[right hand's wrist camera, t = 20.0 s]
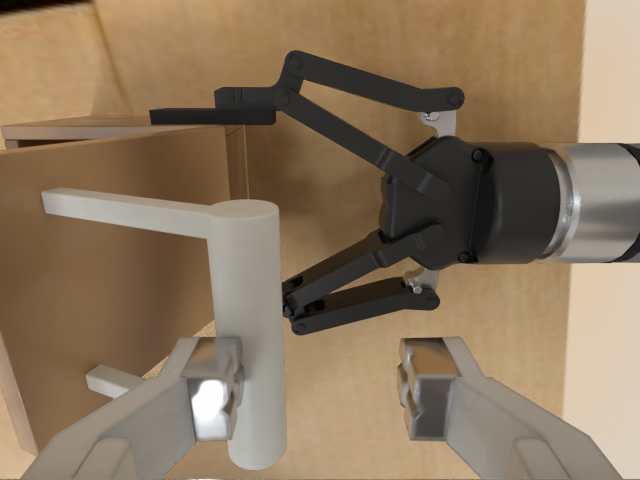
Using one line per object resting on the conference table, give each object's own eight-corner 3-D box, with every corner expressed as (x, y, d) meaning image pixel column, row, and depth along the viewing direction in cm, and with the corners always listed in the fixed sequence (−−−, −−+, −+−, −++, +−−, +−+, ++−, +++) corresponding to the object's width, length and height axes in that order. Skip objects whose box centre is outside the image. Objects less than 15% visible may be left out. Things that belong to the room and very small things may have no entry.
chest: (113, 242, 33) (44, 297, 24) (89, 115, 29) (-1, 125, 21) (251, 241, 33) (232, 294, 24) (244, 115, 30) (219, 125, 21)
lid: (19, 449, 14) (242, 558, 11) (-77, 158, 10) (207, 188, 7) (224, 297, 24) (368, 329, 21) (208, 126, 21) (378, 132, 17)
